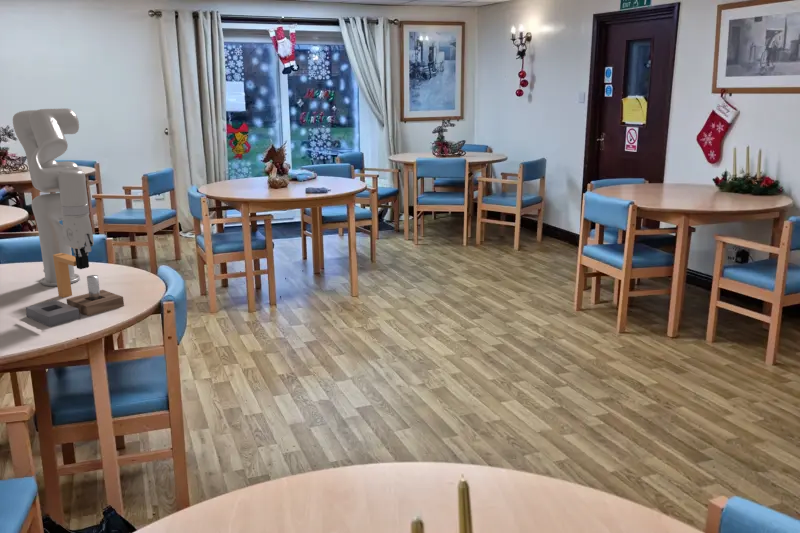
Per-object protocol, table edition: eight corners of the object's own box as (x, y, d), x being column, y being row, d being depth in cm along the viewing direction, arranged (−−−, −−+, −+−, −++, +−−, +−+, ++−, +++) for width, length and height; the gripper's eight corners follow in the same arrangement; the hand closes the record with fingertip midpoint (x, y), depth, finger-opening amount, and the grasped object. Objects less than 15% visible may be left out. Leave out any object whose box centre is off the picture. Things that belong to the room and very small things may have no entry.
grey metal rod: (88, 307, 214) (84, 276, 211) (98, 304, 217) (94, 274, 214) (93, 309, 212) (90, 278, 210) (103, 306, 215) (99, 276, 212)
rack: (27, 319, 206) (25, 307, 205) (56, 311, 213) (55, 299, 212) (50, 329, 198) (48, 316, 197) (80, 321, 205) (78, 308, 204)
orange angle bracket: (58, 297, 225) (52, 254, 221) (68, 295, 228) (62, 252, 224) (79, 306, 217) (73, 261, 213) (89, 303, 220) (84, 259, 216)
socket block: (68, 311, 214) (66, 298, 212) (103, 301, 223) (102, 289, 222) (88, 319, 207) (86, 306, 205) (124, 308, 216) (123, 296, 215)
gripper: (51, 209, 211) (59, 266, 216) (76, 215, 202) (84, 274, 207) (74, 205, 216) (82, 261, 221) (100, 211, 208) (107, 269, 213)
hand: (83, 267), depth 214 cm, fingers closed
